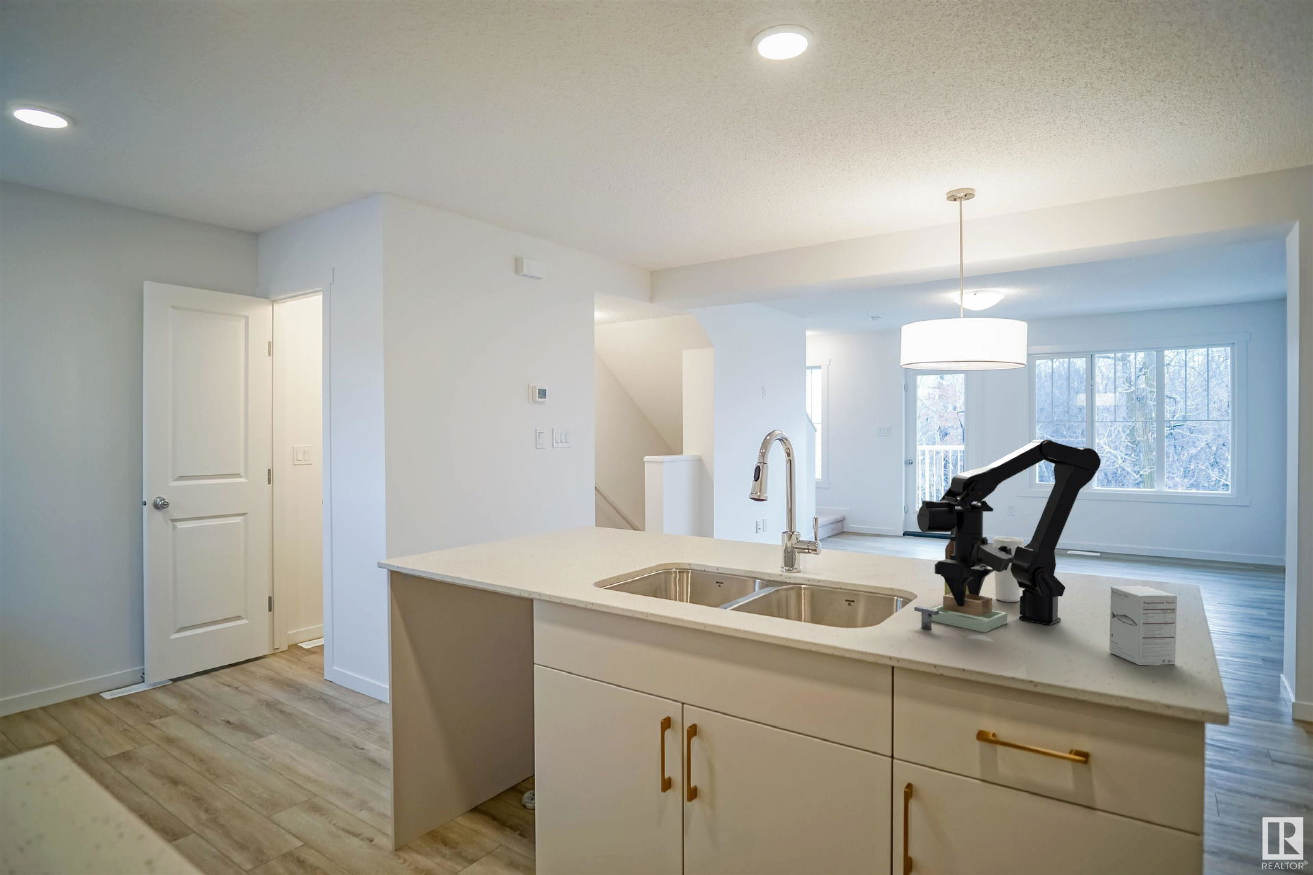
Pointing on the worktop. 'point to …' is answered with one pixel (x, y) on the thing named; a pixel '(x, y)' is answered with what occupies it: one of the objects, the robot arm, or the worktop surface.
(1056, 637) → the worktop surface
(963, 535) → the robot arm
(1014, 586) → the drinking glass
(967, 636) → the worktop surface
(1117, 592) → the supplement box
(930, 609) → the grey t-shaped knob
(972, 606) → the collar
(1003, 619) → the tray
